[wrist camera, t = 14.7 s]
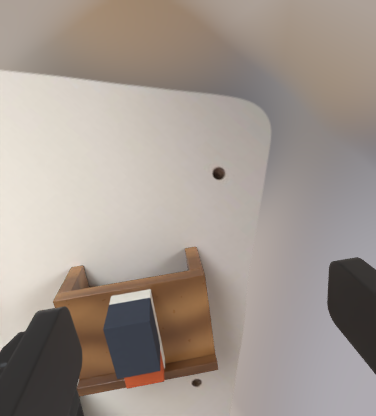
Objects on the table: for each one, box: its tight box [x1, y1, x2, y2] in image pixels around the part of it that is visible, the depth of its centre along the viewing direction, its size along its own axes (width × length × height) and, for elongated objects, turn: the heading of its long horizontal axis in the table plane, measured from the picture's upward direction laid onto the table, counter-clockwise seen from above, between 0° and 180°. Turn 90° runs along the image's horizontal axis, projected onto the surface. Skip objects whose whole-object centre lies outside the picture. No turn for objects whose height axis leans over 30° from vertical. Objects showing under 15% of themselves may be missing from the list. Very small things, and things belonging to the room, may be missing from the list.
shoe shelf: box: [53, 247, 218, 396], centre depth 35 cm, size 12×16×8 cm
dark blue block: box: [103, 289, 165, 388], centre depth 30 cm, size 10×4×5 cm, turn 8°
